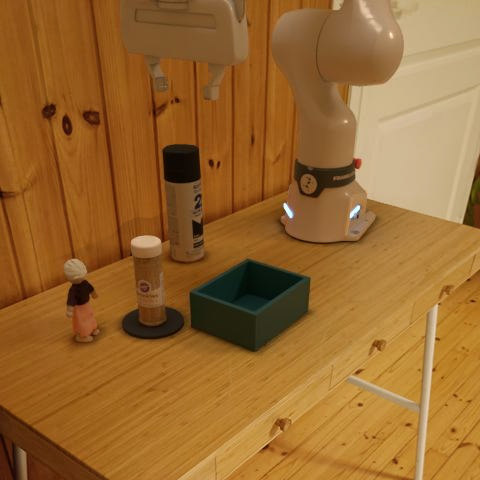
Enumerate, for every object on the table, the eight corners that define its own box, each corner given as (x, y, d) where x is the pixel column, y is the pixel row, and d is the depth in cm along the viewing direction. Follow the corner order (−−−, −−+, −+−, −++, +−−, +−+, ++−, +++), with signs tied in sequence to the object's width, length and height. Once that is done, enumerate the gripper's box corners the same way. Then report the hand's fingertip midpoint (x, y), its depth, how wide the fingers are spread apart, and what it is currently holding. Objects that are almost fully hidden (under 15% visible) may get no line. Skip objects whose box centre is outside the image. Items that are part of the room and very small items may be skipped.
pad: (151, 302, 104) (151, 300, 104) (196, 319, 100) (196, 317, 99) (109, 326, 98) (108, 323, 98) (155, 345, 93) (155, 343, 93)
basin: (247, 291, 108) (247, 258, 104) (308, 311, 102) (311, 277, 98) (190, 326, 98) (189, 291, 94) (255, 351, 92) (255, 315, 88)
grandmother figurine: (83, 323, 99) (69, 248, 91) (106, 326, 98) (94, 250, 90) (65, 348, 93) (49, 270, 85) (89, 351, 92) (75, 273, 84)
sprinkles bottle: (137, 327, 97) (127, 246, 88) (141, 313, 100) (132, 234, 92) (165, 327, 97) (159, 246, 88) (169, 313, 100) (162, 234, 92)
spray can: (199, 264, 116) (194, 154, 104) (165, 261, 117) (156, 152, 105) (207, 251, 121) (204, 144, 109) (175, 248, 122) (168, 141, 110)
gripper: (259, -22, 76) (257, 100, 85) (140, -28, 86) (149, 83, 94) (229, -20, 72) (230, 108, 81) (107, -26, 82) (120, 90, 90)
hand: (185, 95), depth 88 cm, fingers open, 8 cm apart
